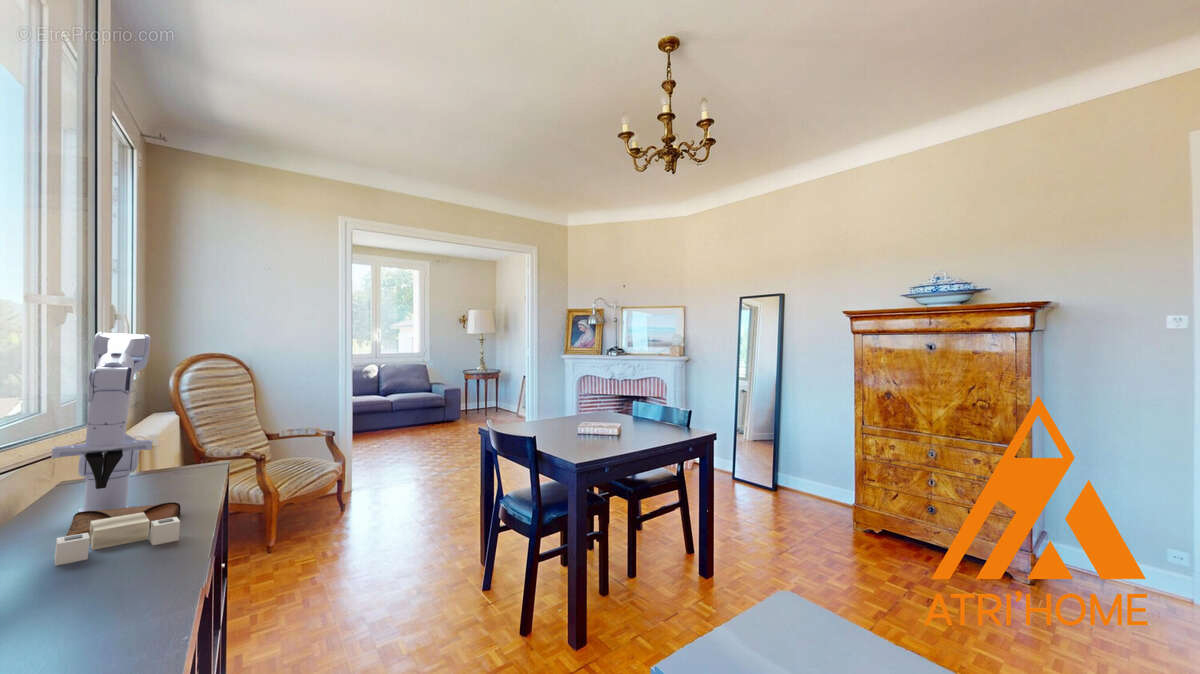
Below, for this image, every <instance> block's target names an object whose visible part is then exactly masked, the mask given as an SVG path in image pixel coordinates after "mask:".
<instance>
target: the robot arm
mask: <svg viewBox="0 0 1200 674" xmlns="http://www.w3.org/2000/svg"><path fill="white" fill-rule="evenodd" d="M151 338H152V337H151V336H150V335H149V334H135V333H115V332H103V331H98V332H97V333H96V334H95V335H94V339H93V347H92V348H93V349H92V353H93V359H94V360H93V361H94V362H93V363H94V364H95V369H90V370H89V373H88V377H87V393H88V397H87V398H88V399H87V400H88V403H89V404H88V415H87V422H86V423H87V424H86V434H85V442H84V443H82V444H80V443H79V444H73V445H64V446H63V445H62V446H54V447H51V456H50V457H51V459H60V458H62V457H63V458H64V457H77V456H79V460H78V468H77V469H78V475H79V476H80V477H84V480H85V491H84V500H83V501H84V502H83V508H79V509H77V510H78V511H77V513H79V512H83V511H103V510H111V509H120V508H129V506H128V505H127V504H128V496H129V486H130V485H129V483H130V475H131V473H135V471H137V470H138V468H139V467H138V465H139V459H140V458H139V456H140V451H141V450H142V451H143V450H144V451H150V450H152V449H153V440H152V439H145V440H142V439H141V440H138V439H137V438H136V437H133V436H131V435H129V434H127V433H126V432H127V424H128V415H129V407H130V397H131V393H132V390H133V385H134V378H135V376H136V373H137V371H140V370H143V369H145V368H147V365H148V362H149V356H150V351H151V350H150V349H151V340H152V339H151Z"/></svg>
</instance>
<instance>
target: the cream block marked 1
mask: <svg viewBox="0 0 1200 674" xmlns="http://www.w3.org/2000/svg"><path fill="white" fill-rule="evenodd" d="M89 549H90V537H89V534H88V533H83V534H77V535H71V536H61V537H60V536H59V537H56V541H55V550H54V566H57V567H58V566H60V565H66V564H71V563H75V562H81V561H86V560H88V559H89V551H90V550H89Z"/></svg>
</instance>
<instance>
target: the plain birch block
mask: <svg viewBox="0 0 1200 674" xmlns="http://www.w3.org/2000/svg"><path fill="white" fill-rule="evenodd" d="M149 525H150V521H149V519H148V518H147V516H146V515H145V513H144V512H143V513H136V514H130V515H124V516H118V517H112V518H106V519H100V520H94V521H91V523H90V533H89V537H90V541H89V545H90V547H91V550H92V551H94V550H100V549H104V548H105V549H106V548H109V547H114V546H119V545H126V544H130V543H135V542H140V541H145V540H149V536H150V528H149Z"/></svg>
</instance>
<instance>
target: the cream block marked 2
mask: <svg viewBox="0 0 1200 674" xmlns="http://www.w3.org/2000/svg"><path fill="white" fill-rule="evenodd" d="M180 526H181V520H180V519H179V517H178V518H177V517H173V518H167V519H161V520H156V521H151V527H150V528H149V542H150V544H151V545H152V546H156V545H157V546H158V545H162V544H168V543H171V542H172V543H173V542H177V541H179V539H180V528H181V527H180Z"/></svg>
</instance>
